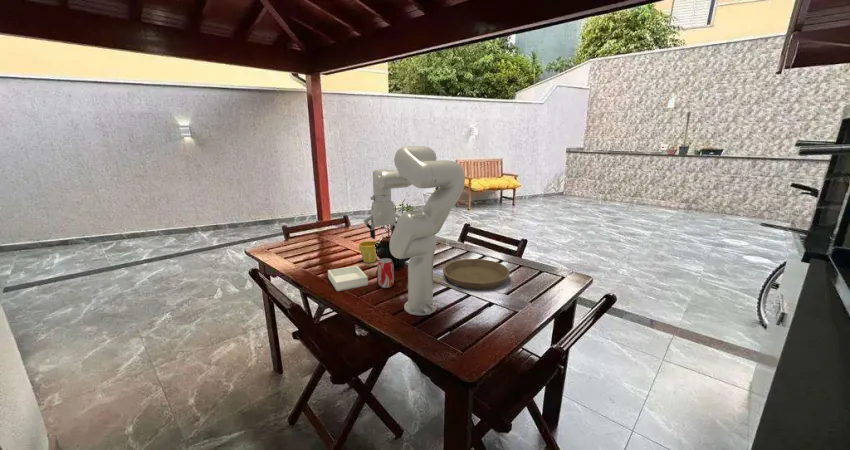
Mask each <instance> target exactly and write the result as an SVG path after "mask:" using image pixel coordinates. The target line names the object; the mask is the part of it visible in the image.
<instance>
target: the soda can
mask: <svg viewBox="0 0 850 450" xmlns="http://www.w3.org/2000/svg"><path fill="white" fill-rule="evenodd" d="M394 269H395V268H394V263H393V260H392V259H391V258H388V257H382V258H380V259H379V260H378V262H377V283H378V286H379V287H381V288H383V289H388V288H391V287H392V286H394V282H395V281H394V280H395V276H394V275H395V271H394Z"/></svg>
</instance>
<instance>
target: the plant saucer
mask: <svg viewBox="0 0 850 450" xmlns="http://www.w3.org/2000/svg"><path fill="white" fill-rule="evenodd" d="M442 274H444V276H445V278H446V279H447V280H448V281H449V280H450V281H451V284H453V283H454V284H453V285H455V284H456V286H457V285H458V286H457V287H460V286H461V287H460V288H464V289H469V288H470V289H469V290H489V289H494V288H498V287H500V286H501V285H502V284H504V282H506V281H507V280H508V279H509V278H510V274H511V273H510V269H508V267H507V266H505V265H504V264H502V263H499V262H497V261H493V260H489V259H483V258H463V259H457V260H454V261H451V262H448V263H447V264H445V265H444V266H443V267H442ZM450 281H449V282H450Z"/></svg>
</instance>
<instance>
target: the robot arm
mask: <svg viewBox="0 0 850 450" xmlns="http://www.w3.org/2000/svg"><path fill="white" fill-rule="evenodd" d="M437 157H438V156H437V153H436V152H435V151H434V149H432V148H431V147H428V146H421V145H416V146H402V147H400V148H399V149H398V150H396V152H395V154H394V159H393V161H394V166H395V168H396V169H385V168H383V169H382V168H380V169H379V168H378V169H374V170H372V188H373V189H372V190H373V191H372V192H373V194H372V196H370V197H369V198H370V200H371V201H372V202H371V203H372V204H371V208H370V209H371V210H370V215H369V216H368V217H366V218H365V219H364V220H363V223H364V225H365V226H366V227H367V228H368V229H369V235H370V238H371V239H372V240H375V239H376V230H375V228H376V227H379V226H380V227H382V226H388V225H392V226H391V237H390V239H389V251H390V254H391V256H393V257H394V258H396V259H397V260H398V259H399V260H402V259H408V258H409V261H408V264H407V294H408V295H407V296H408V297H407V301H406V302H405V303H404V305H403V307H404V311H405V312H406V313H407V314H410V315H412V316H422V317H423V316H428V315H431V314H432V313H435V312H436V310H437V309H438V308H437V307H438V306H437V303H436V302H435V301H434V257H435V252H436V247H437V237H436V235H437V234H438V233H440V231H441V230H442V228H443V226H444V224H445V223H446V220H447V218H448V217H449V214H451V211H452V210H453V208H454V206H455V205H456V203H457V202H458V201H459V199H460V197H461V195H462V193H463V190H464V189H465V179H466V177H465V171H464V168H463V166H462V165H461V164H460V163H458V162H457V161H453V160H446V159H444V160H442V159H440V160H438V159H437ZM410 186H414V187H415V188H418V189H430V188H431V189H432V188H434V189H435V188H437V189H436V190H435V191H434V192H433V193H432V194H431V195H430V196H429V197H428V198H427V200H426V203H425V205H424V207H422V208H421V209H416V210H409V211H406V212H403V214H401V215H398V214H396V208H395V203H394V201H393V200H392V189H393V190H394V189H402V188H407V187H410ZM369 222H371V224H370V223H369Z"/></svg>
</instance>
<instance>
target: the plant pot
mask: <svg viewBox="0 0 850 450" xmlns="http://www.w3.org/2000/svg"><path fill="white" fill-rule="evenodd" d="M377 242H378V241H373V240H365V241H361V242H359V243H358V250H359V251H360V254H361V257H362V261H363V263H367V264H371V263H375V262H376V261H377V255H378V253H377V254H376V249H375V243H377Z"/></svg>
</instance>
